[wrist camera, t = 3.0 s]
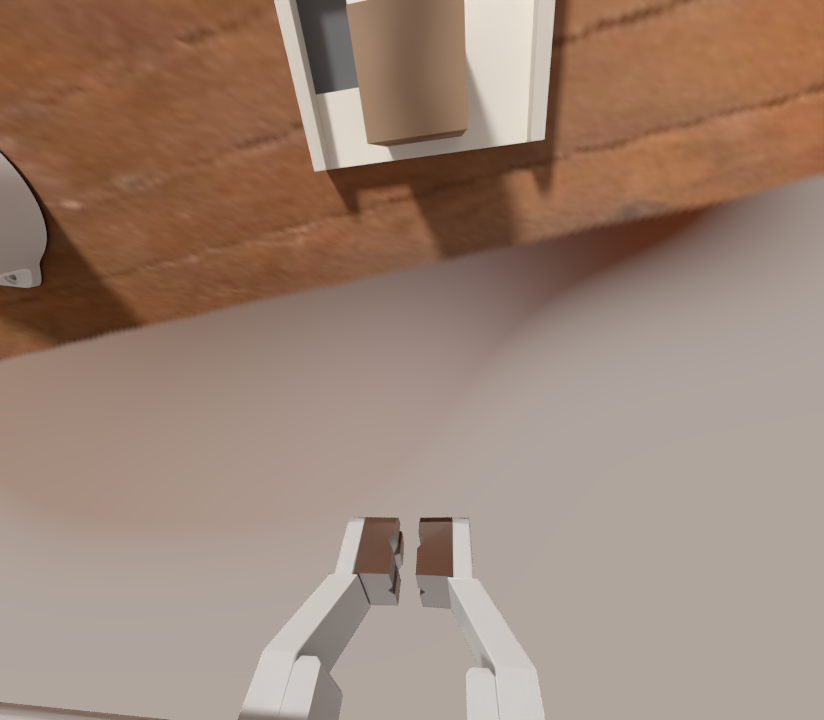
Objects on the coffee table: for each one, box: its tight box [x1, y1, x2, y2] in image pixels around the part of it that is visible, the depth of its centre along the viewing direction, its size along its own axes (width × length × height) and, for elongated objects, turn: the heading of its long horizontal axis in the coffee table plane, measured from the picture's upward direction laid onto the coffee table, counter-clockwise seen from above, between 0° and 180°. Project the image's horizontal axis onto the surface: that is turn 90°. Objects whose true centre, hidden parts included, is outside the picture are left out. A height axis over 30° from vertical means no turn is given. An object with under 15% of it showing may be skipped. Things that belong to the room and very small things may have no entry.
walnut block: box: [346, 0, 467, 147], centre depth 21 cm, size 6×6×8 cm
